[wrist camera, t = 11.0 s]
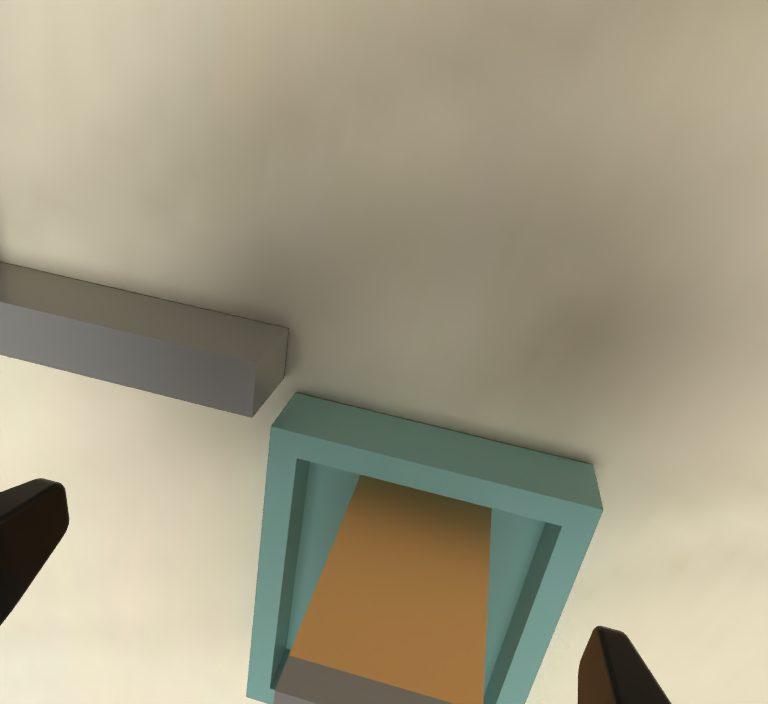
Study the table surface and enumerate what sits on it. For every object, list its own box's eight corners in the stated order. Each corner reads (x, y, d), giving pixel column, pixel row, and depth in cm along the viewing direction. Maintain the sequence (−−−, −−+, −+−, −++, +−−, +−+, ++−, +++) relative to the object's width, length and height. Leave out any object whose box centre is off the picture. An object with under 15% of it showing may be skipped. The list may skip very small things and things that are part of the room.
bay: (338, -170, 15) (300, -229, 12) (283, 377, 22) (251, 417, 19) (-124, -231, 17) (-248, -295, 14) (-41, 299, 23) (-113, 326, 21)
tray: (592, 465, 21) (603, 509, 18) (497, 716, 27) (496, 773, 24) (295, 392, 22) (270, 426, 20) (267, 648, 28) (246, 696, 26)
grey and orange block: (492, 507, 22) (481, 753, 14) (443, 670, 25) (412, 938, 17) (360, 474, 22) (274, 690, 14) (332, 638, 26) (252, 883, 18)
